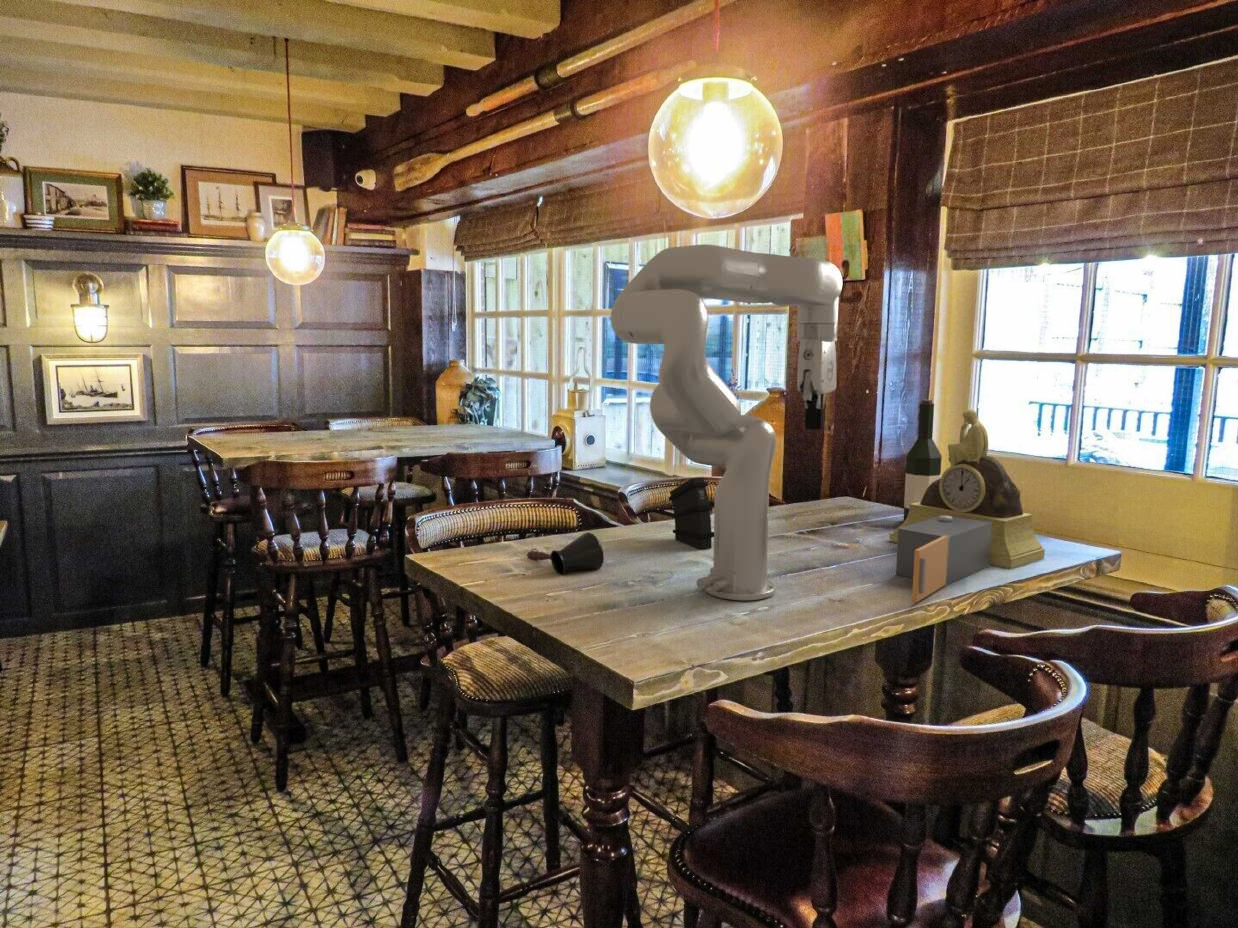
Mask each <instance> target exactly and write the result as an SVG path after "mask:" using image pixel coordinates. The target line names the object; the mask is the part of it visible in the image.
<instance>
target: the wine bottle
mask: <svg viewBox="0 0 1238 928" xmlns="http://www.w3.org/2000/svg"><path fill="white" fill-rule="evenodd" d="M918 407H919V412H918V430H917V439H916V441H915V442H914V444H913V446H911V448H910V450H909V451H908V453H907V454H906V458H905V459H906V462H905V480H904V481H905V483H904V484H905V485H904V500H903V501H904V502H903V503H904V504H903V521H902V522H903V523H904V521H905V520H906V519H907V517H908V514H909V509H910V504H912V503H917V502H921V500H922V498H923V496H924V494H925V492H926V490H927V488H928V487H929V486H930V485H931V483H933V482H934V481H935V480H938V479H940V478H941V476H942V475H941V474H942V473H941V472H942V457H943V456H942V454H941V451H940V450H939V448H938V447H937V445H936V443H935V441H934V439H933V434H934V433H933V432H934V413H935V412H934V411H935V403H934V402H933V399H921V402H920V403H919V406H918ZM903 523H902V524H903Z"/></svg>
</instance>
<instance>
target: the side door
mask: <svg viewBox="0 0 1238 928" xmlns="http://www.w3.org/2000/svg"><path fill="white" fill-rule="evenodd" d="M949 542H950V535H944V536H942V537H940V538H938V539H936V540H934V541H932V542H930V543H928V544H926V545H924V546H922V547H920V548H918V549H916V550H915V555H914V574H913V578H912V579H913V580H912V598H911V602H913V603H918V602H920V601H921V600H922V599H924V598H926V597H928V596H929V595H931V594H933V593H934V592H936V591H938V590H939V589H941V588H942V587H944V586H947V585H946V584H947V576H948V559H949Z"/></svg>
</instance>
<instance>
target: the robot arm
mask: <svg viewBox="0 0 1238 928" xmlns="http://www.w3.org/2000/svg"><path fill="white" fill-rule="evenodd" d="M842 288H843V277H842V274H841V271H840V270H839V268H838V267H837V266H836V265H835V264H833V263H832V262H830V261H827V260H822V259H817V258H811V257H802V256H791V255H781V254H780V255H779V254H775V253H774V254H772V253H764V252H753V251H748V250H741V249H737V248H732V247H728V246H727V247H726V246H722V245H717V244H693V245H681V246H673V247H672V246H671V247H667V248H664V249H663V250H661V251H659V252H658V253H656V255H654V256H653V257H652V258H651V259H650V260H649V261H647V262H646V264H645V265H644V266H643V267H642V268H641V269H640V270H639V271H638V272H637V274H636V275H635V276H634V277H633V278H632V279H631V280H630V281H629V282H628V284H626V286H625V287H624V288H623V289H622V290H621V291H620V293H619V294H618V296H617V297H616V298H615V300H614V302H613V305H612V306H611V307H612V308H611V310H610V311H611V312H610V324H611V328H612V330H613V332H614V334H616V336H617V337H618V338H619V339H620V340H622V341H624V342H626V343H629V344H634V345H664V346H663V352H662V357H661V362H660V366H659V369H658V374H657V375H658V376H657V377H658V384H657V386H656V387H655V388H654V389H653V391H652V393H651V397H650V401H649V409H650V410H649V411H650V415H651V419H652V420H653V423H654V425H655V427H656V428H657V430H659V432H660V433H661V434H662V435H663V437H665V438H666V439H667V440H668V441H669V442H670V443H671V444H672V445H673V446H674V447H675V448H676V449H677V450H678V451H679V452H680V453H681V454H682V455H683V456H684V457H685V458H687V459H688V460H689V461H691V462H693V463H696V464H699V465H704V466H712V467H720V468H723V469H725V470H724V471H725V472H724V473H723V475H722V476H721V479H720V480H719V482H718V483H717V484H716V489H715V492H714V501H713V503H714V510H713V511H714V512H713V513H714V515H713V517H714V519H713V522H714V523H713V532H714V537H713V566H712V567H710V571H709V572H710V573H709V574H708V575H707V576H704V577H700V578H698V579H696V586H697V588H698V589H699V590H705V592H707V593H708V594H709V595H711V596H713V597H715V598H716V597H717V598H719V599H724V600H730V601H756V600H762V599H763V600H764V599H767V598H769V597H771V596H773V595H774V594H775V593H776V585H775V583H774V582H772V580H769V579H768V547H769V546H768V543H769V502H770V501H769V500H770V495H769V494H770V482H771V475H772V473H771V472H772V468H773V467H772V465H773V462H774V458H775V454H776V448H777V436H776V432H775V430H774V428H773V426H772V425H771V424H770V423H769V422H768V421H766V420H764V419H763V418H760V417H757V416H753V415H747V414H746V415H745V414H742V409H741V405H740V403H739V400H738V398H737V396H736V395H735V394H734V393H733V391H732V390H731V389H730V387H729V386H728V385H727V383H725V381H724V380H723V379H722V377H720V375H719V374H718V373H717V372H716V370H715V369H713V367H712V366H711V364H710V363H709V362H708V359H707V356H706V347H707V346H706V344H707V343H706V342H707V335H708V329H709V328H708V326H709V314H708V313H709V312H708V309H707V306H706V302H704V300H703V299H712V300H721V301H731V302H736V303H737V302H738V303H745V304H769V303H770V304H773V305H775V306H779V307H797V316H796V317H797V324H796V342H799V347H798V348H799V349H798V358H797V359H798V360H797V381H796V382H797V384H796V385H797V391H798V392H800V393H801V394H802V399H803V401H804V408H805V411H804V412H805V415H804V417H805V419H804V428H805V429H806V430H817V431H821V430H823V429H825V427H824V426H825V425H824V424H825V422H824V421H825V405H826V397H828V393H832V392H834V391H836V389H837V351H836V344H835V343H836V342H837V341H838V329H839V328H838V325H839V324H838V322H839V321H838V320H839V319H838V318H839V296H840V295H841V292H842V290H843V289H842Z"/></svg>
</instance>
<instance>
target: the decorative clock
mask: <svg viewBox="0 0 1238 928" xmlns="http://www.w3.org/2000/svg"><path fill="white" fill-rule="evenodd" d="M962 416H963V420H964V422H963V424H962V425H961V427H960V431H959V432H960V433H959V437H958V438H959V442H950V443H948V444H947V449H948V462H949V464H950V466H949V467H948V468H947V469H946V470H945V471H944V472H943V473H942V475H941V478H940V479H938V480H935V481H934V482H933V483H931V485H930V486H929V487H928V488H927V490H926V492H925V494H924V496H923V498H922V500H921V502H917V503H912V504H910V509H909V514H908V517H907V519H906V520H905V521H904V523H902V524H900V526H898V527H896V529H894V530H893V531H892V532H889V540H891V541H894V542H893V543H895V542H898V528H902V527H905V526H908V525H911V524H915V523H918V522H921V521H924V520H927V519H931V518H934V517H937V516H940V515H948V516H954V517H961V518H967V519H973V520H980V521H986V522H992V527H991V542H990V558H989V565H994V566H997V567H1002V568H1006V569H1010V570H1011V569H1014V568H1019V567H1021V566H1025V565H1027V564H1030V563H1033V562H1037V561H1041V560H1043V559H1045V550H1046V549H1045V548H1043V545H1042V544H1041V543H1040V541H1039V540H1038V539H1037V537H1036V535H1035V532H1034V529H1033V522H1032V520H1033V514H1031V513H1026V512H1023V511H1024V510H1023V506H1022V502H1021V491H1020V490H1019V488H1018V486H1017V485H1016V484H1015V483H1014V482H1013V480H1012V479H1011V477H1010V476H1009V474H1008V473H1007V471H1006V469H1005V467H1004V466H1003V465H1002V463H1001V462H1000V461H999V460H998V459H997V458H995V457H994V456H990V455H988V451H989V435H988V432H987V429H986V427H985V425H983V423H982V422H981V421H980V419H979V417H978V413H977V412H976V410H974V409H972V408H968V409H965V411H963V413H962ZM969 425H971V426H970V427H969V428H968V426H969ZM967 428H968V429H967ZM966 429H967V432H966V434H965V430H966Z"/></svg>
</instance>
